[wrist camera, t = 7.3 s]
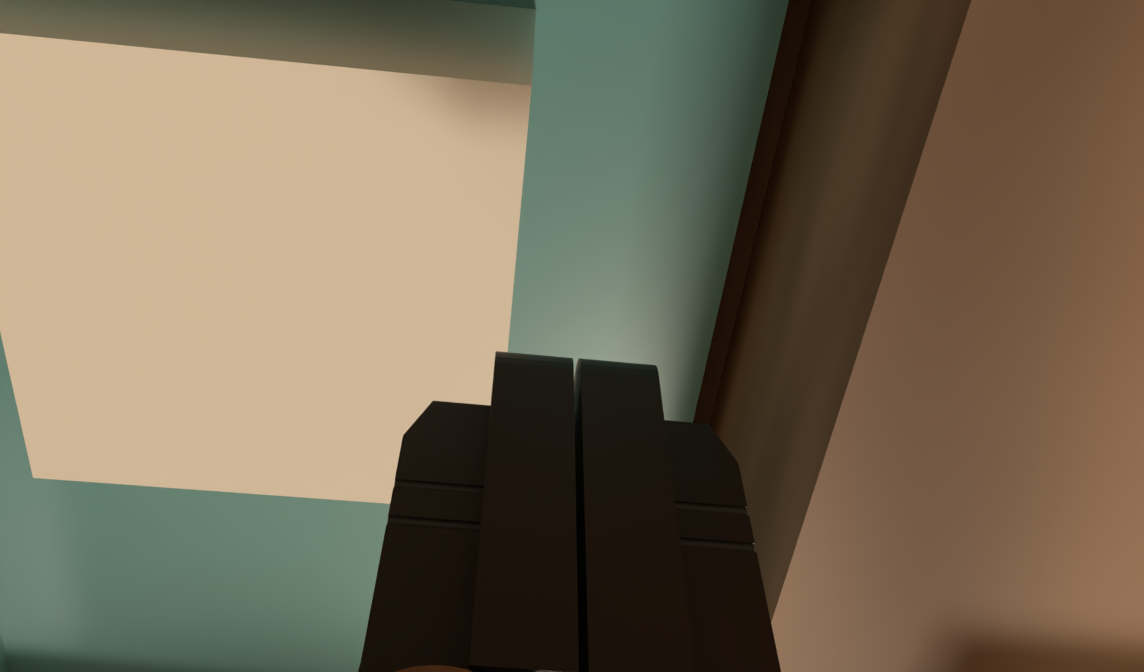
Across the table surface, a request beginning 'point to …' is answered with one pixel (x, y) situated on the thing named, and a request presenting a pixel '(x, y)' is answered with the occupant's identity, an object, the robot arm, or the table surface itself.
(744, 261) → the table surface
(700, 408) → the table surface
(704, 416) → the table surface
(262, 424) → the tile
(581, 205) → the tray
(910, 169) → the walnut board
